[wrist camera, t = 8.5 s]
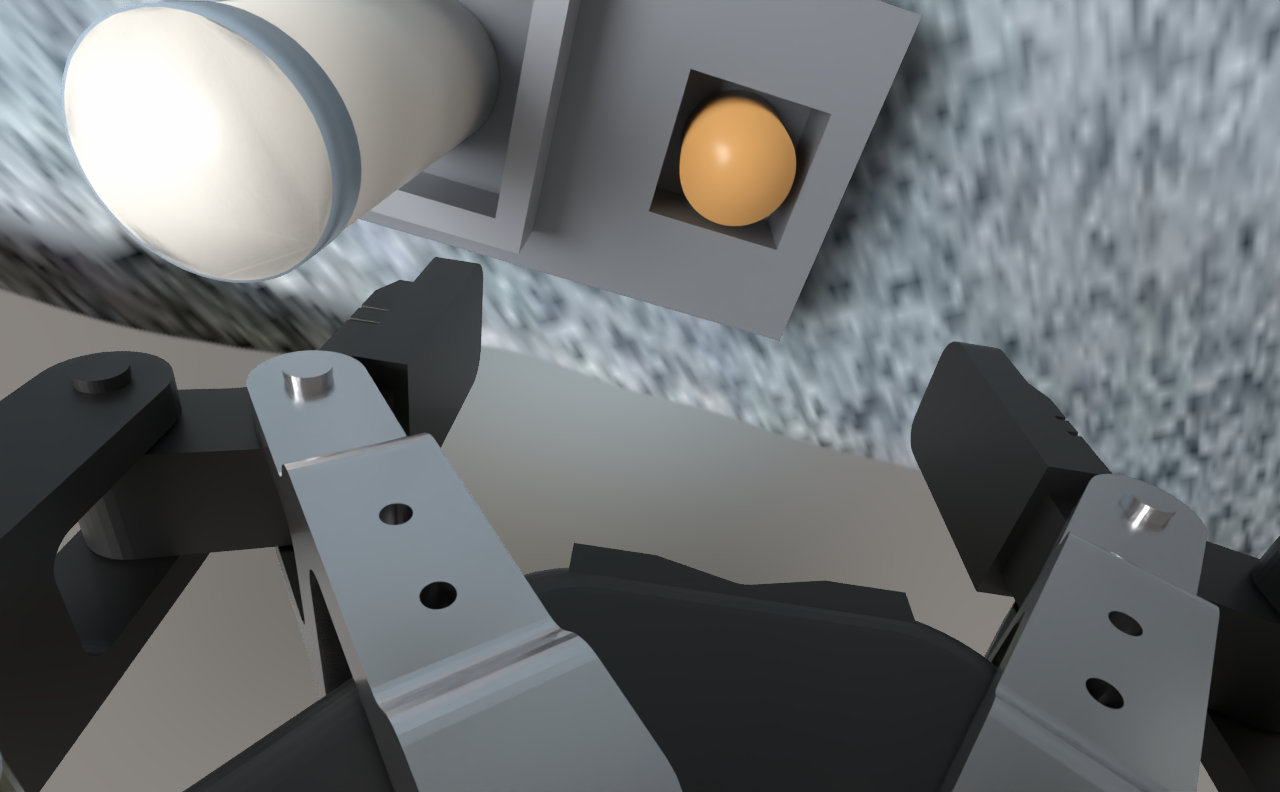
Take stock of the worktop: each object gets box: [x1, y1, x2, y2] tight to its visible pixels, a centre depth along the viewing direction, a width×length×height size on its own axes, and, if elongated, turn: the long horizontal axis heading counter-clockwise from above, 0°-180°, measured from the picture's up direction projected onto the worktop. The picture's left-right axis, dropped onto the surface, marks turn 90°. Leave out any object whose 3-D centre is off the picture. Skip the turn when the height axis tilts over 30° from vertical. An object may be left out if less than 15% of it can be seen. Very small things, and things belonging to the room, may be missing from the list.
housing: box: [359, 0, 922, 341], centre depth 25 cm, size 20×12×6 cm, turn 74°
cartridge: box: [61, 0, 500, 283], centre depth 18 cm, size 5×5×13 cm
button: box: [680, 90, 796, 226], centre depth 26 cm, size 4×4×4 cm
